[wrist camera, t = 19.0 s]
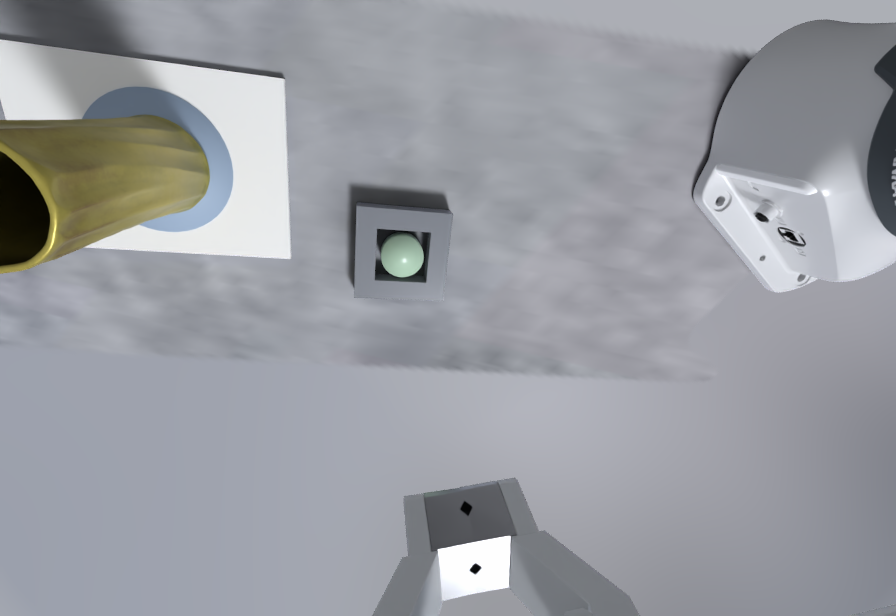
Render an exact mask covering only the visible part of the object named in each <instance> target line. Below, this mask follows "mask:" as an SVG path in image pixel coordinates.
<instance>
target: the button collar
mask: <svg viewBox="0 0 896 616" xmlns="http://www.w3.org/2000/svg"><path fill="white" fill-rule="evenodd" d="M452 220H453V213H452V212H451V211H450V210H442V209H430V208H419V207H407V206H395V205H383V204H372V203H360V202H357V206H356V243H355V283H354V298H375V299H400V300H425V301H443V297H444V288H445V280H446V271H447V263H448V254H449V245H450V237H451V228H452ZM377 229H388V230H402V231H416V232H428V239H427V249H426V260H425V271H424V276H412V275H411V276H408V277H397V276H394V275H392V274H375V262H376V240H377Z"/></svg>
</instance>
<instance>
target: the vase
mask: <svg viewBox="0 0 896 616" xmlns="http://www.w3.org/2000/svg"><path fill="white" fill-rule="evenodd" d="M209 182H210V170H209V165H208V161H207V158H206V156H205V154H204V152H203V150H202V148H201V147H200V145H199V144H198V143H197V142H196V140H195V139H194V138H193V137H192V136H191V135H190V134H189V133H188V132H186V131H185V130H184V129H183V128H182V127H180V126H179V125H177V124H176V123H174V122H172V121H170V120H167V119H165V118H162V117H158V116H154V115H146V114H144V115H134V116H130V117H119V118H108V119H73V120H0V274H1V273H9V272H16V271H22V270H26V269H29V268H32V267H35V266H37V265H39V264H41V263H44V262H48V261H51V260H54V259H57V258H59V257H62V256H64V255H66V254H69V253H71V252H74V251H76V250H78V249H81V248H83V247H86V246H88V245H90V244H92V243H95V242H97V241H99V240H102V239H104V238H106V237H109V236H112V235H114V234H116V233H119V232H121V231H123V230H126V229H129V228H132V227H134V226H137V225H139V224H142V223H144V222H146V221H149V220H152V219H156V218H159V217H163V216H166V215H169V214H174V213H180V212H183V211H187V210H189V209H191V208H193V207H194V206H195V205H196V204H197V203H198V202H199V201H200V200H201V199H202V198H203V197H204V196H205V194H206V192H207V189H208V186H209Z"/></svg>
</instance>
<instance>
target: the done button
mask: <svg viewBox="0 0 896 616" xmlns="http://www.w3.org/2000/svg"><path fill="white" fill-rule="evenodd" d="M381 260H382V264H383V266H384V268H385V269H386V270H387V271H388V272H389V273H390V274H392V275H394V276H397V277H408V276H411V275H413V274H415V273H416V272H417V271H418V270H419V269H420V268H421V266H422V264H423V260H424V253H423V250H422V247H421V245H420V243H419V241H418V240H417V238H416V237H414V236H413V235H411V234H409V233H406V232H396V233H393V234H391V235H390V236H388V237H387V238H386V239H385V240H384V242H383V244H382V247H381Z"/></svg>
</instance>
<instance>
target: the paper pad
mask: <svg viewBox="0 0 896 616" xmlns="http://www.w3.org/2000/svg"><path fill="white" fill-rule="evenodd" d="M0 100H1V103H2V107H3V110H4V114H5V118H6V120H73V119H108V118H119V117H130V116H134V115H144V114H146V115H154V116H158V117H162V118H165V119H167V120H170V121H172V122H174V123H176V124H177V125H179V126H180V127H182V128H183V129H184V130H185V131H186V132H188V133H189V134H190V135H191V136H192V137H193V138H194V139H195V140H196V142H197V143H198V144H199V145H200V147H201V148H202V150H203V152H204V154H205V156H206V158H207V161H208V165H209V170H210V182H209V186H208V189H207V192H206V194H205V196H204V197H203V198H202V199H201V200H200V201H199V202H198V203H197V204H196V205H195V206H194V207H193V208H191V209H189V210H187V211H183V212H180V213H174V214H169V215H166V216H163V217H159V218H156V219H152V220H149V221H146V222H144V223H142V224H139V225H137V226H134V227H132V228H129V229H126V230H123V231H121V232H119V233H116V234H114V235H112V236H109V237H106V238H104V239H102V240H99V241H97V242H95V243H92V244H90V245H88V246H86V247H87V248H105V249H123V250H140V251H158V252H176V253H194V254H211V255H229V256H247V257H265V258H282V259H291V258H292V254H291V227H290V199H289V172H288V145H287V118H286V90H285V79H282V78H275V77H267V76H260V75H253V74H246V73H238V72H231V71H224V70H217V69H210V68H202V67H195V66H188V65H181V64H174V63H166V62H159V61H152V60H145V59H137V58H130V57H123V56H116V55H109V54H101V53H94V52H87V51H80V50H72V49H65V48H58V47H51V46H44V45H36V44H29V43H22V42H15V41H8V40H0Z"/></svg>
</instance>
